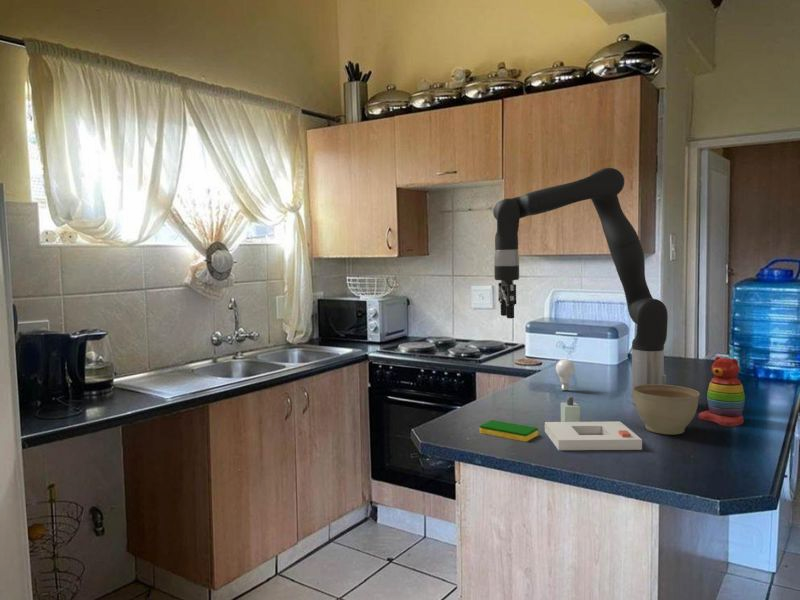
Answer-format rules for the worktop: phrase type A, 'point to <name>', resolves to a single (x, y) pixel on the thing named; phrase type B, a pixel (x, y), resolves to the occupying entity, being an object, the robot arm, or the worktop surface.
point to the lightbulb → (565, 372)
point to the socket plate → (592, 436)
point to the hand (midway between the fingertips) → (507, 316)
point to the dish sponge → (509, 430)
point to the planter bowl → (665, 407)
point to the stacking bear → (725, 394)
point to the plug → (570, 411)
